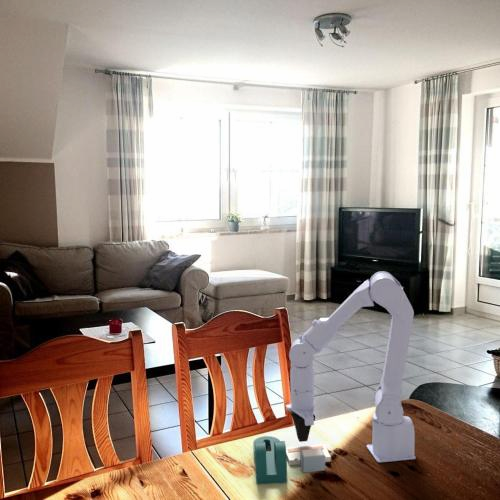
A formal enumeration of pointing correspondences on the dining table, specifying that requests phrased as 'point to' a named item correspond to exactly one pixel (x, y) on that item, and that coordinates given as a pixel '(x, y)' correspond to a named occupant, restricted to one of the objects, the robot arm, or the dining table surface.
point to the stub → (312, 460)
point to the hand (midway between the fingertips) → (302, 440)
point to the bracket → (270, 460)
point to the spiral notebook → (294, 452)
